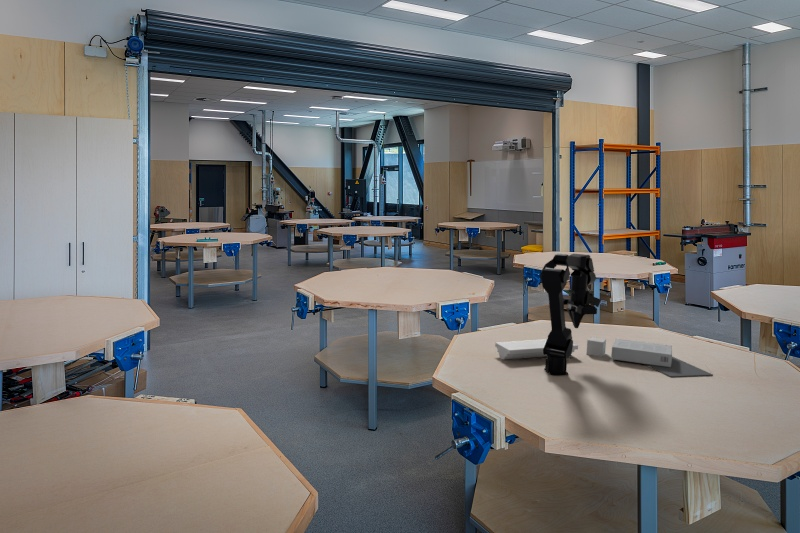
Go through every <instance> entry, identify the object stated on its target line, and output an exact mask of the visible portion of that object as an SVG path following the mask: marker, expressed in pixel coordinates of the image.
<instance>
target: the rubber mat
mask: <svg viewBox="0 0 800 533" xmlns="http://www.w3.org/2000/svg"><path fill="white" fill-rule="evenodd" d="M644 366H647V367H649V368H651V369H652V370H655V371H657V372H660V373H661V374H663V375H665V376H668V377H669V378H686V377H687V378H688V377H689V378H690V377H710V376H711V377H712V376H714V374H713V373H711V372H709V371H706V370H704V369H701V368H700V367H697V366H695V365H692V364H690V363H687V362H686V361H684V360H681V359H679V358H677V357H674V356H672V363H671V367H665V366H657V365H650V364H644Z"/></svg>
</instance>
